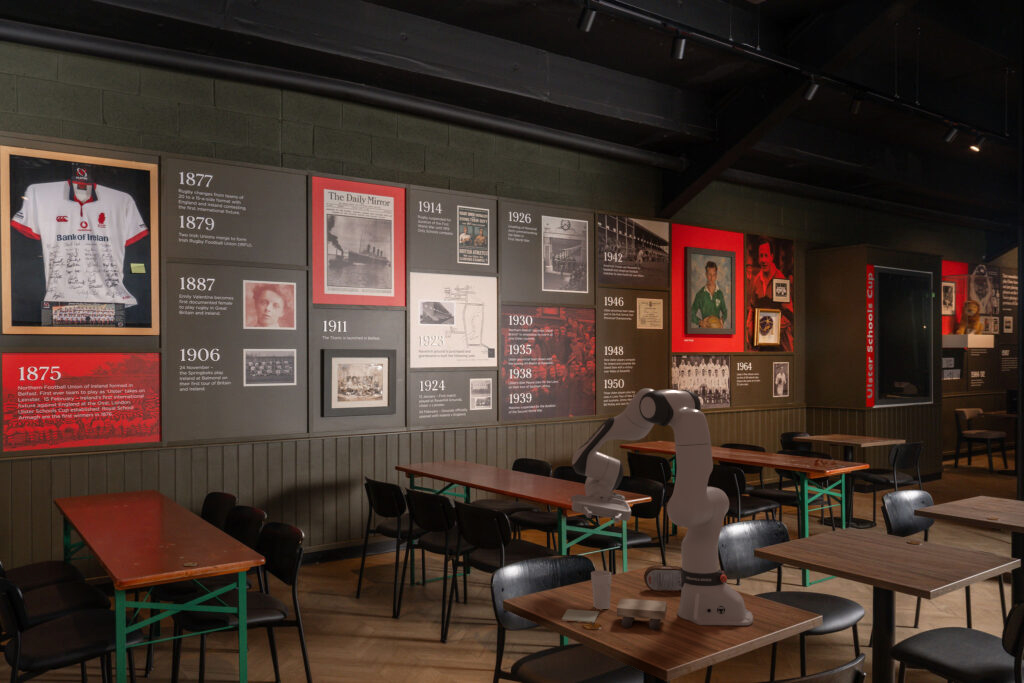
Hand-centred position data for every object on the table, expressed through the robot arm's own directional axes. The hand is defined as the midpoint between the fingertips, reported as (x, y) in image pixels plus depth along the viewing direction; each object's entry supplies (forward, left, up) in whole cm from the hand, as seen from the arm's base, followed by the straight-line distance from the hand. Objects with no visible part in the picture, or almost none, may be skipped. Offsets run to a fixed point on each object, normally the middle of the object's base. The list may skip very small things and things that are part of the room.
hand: (603, 518), depth 249 cm
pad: (+5, +18, -27) cm, 33 cm away
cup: (0, +7, -27) cm, 28 cm away
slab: (-14, +19, -27) cm, 36 cm away
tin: (-19, -17, -27) cm, 37 cm away
